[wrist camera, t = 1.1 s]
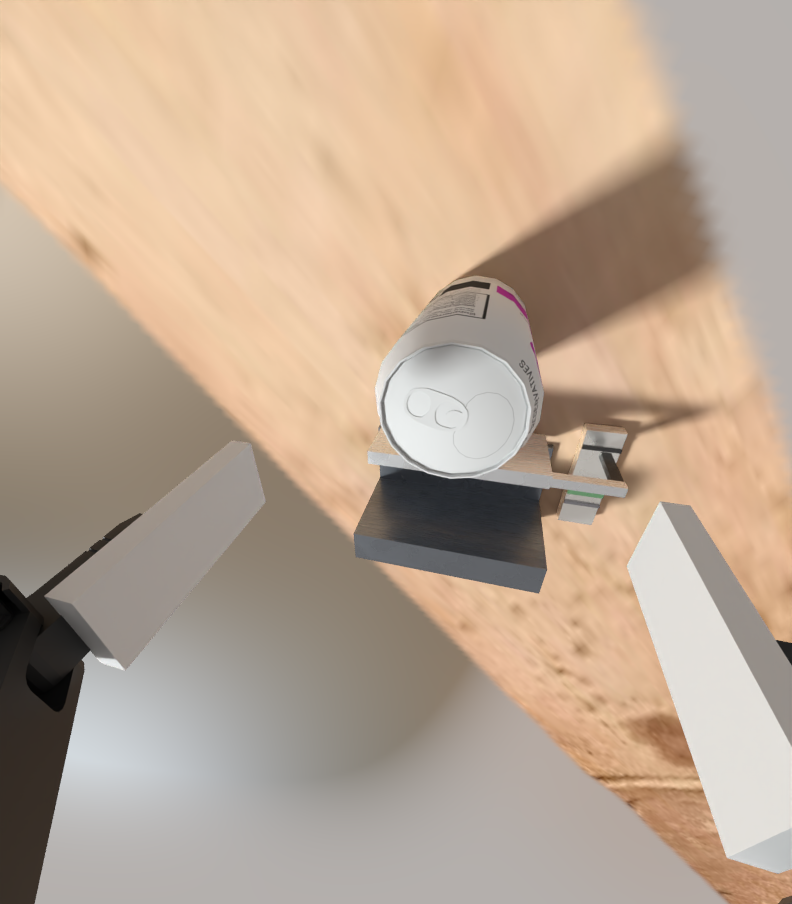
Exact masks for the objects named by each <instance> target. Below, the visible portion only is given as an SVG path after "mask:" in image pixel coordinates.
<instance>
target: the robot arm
mask: <svg viewBox="0 0 792 904" xmlns="http://www.w3.org/2000/svg"><path fill="white" fill-rule="evenodd" d="M264 503H265V497H264V493H263V489H262V485H261V482H260V478H259V474H258V470H257V466H256V462H255V459H254V454H253V451H252V447H251V443H245V442H238V441H231V442H230V443H228V444H227V445H226V446H225V447H223V448H222V449H221V450H220V451H219V452H217V453H216V454H215V455H214V456H213V457H211V458H210V459H209V460H208V461H207V462H205V463H204V464H203V465H202V466H201V467H199V468H198V469H197V470H196V471H194V472H193V473H192V474H191V475H190V476H188V477H187V478H186V479H185V480H184V481H182V482H181V483H180V484H179V485H178V486H176V487H175V488H174V489H173V490H172V491H170V492H169V493H168V494H167V495H166V496H164V497H163V498H162V499H161V500H160V501H158V502H157V503H156V504H155V505H153V506H152V507H151V508H150V509H149V510H147V511H146V512H145V513H144V514H138V515H136V516H134V517H132V518H130V519H128V520H126V521H124V522H122V523H120V524H119V525H118V526H116V527H115V528H114V529H113V530H111V531H110V532H109V533H108V534H106V535H105V536H104V537H103V539H102V540H99V541H98V542H97V543H95V544H94V545H93V546H92V547H90V548H89V551H88V552H87V551H85V552H84V553H83V554H82V555H80V556H79V557H78V558H77V559H75V560H74V561H73V562H72V563H71V564H69V565H68V566H67V567H65V568H64V569H63V570H62V571H60V572H59V573H58V574H57V575H55V576H54V577H53V578H52V579H50V580H49V581H48V582H47V583H45V584H44V585H43V586H42V587H40V588H39V589H38V590H37V591H36V592H34V593H33V594H31V595H30V596H29V597H27V598H25V596H24V595H23V594H22V593H21V592H20V591H19V590H18V589H17V588H16V587H15V585H14V584H13V583H12V582H11V581H10V580H9V579H8V578H7V577H6V576H3V575H0V904H34V903H35V899H36V894H37V889H38V885H39V880H40V875H41V870H42V866H43V861H44V856H45V852H46V847H47V843H48V838H49V833H50V829H51V824H52V819H53V814H54V810H55V805H56V800H57V796H58V791H59V787H60V782H61V777H62V773H63V768H64V763H65V759H66V754H67V749H68V745H69V740H70V735H71V731H72V726H73V721H74V716H75V712H76V707H77V703H78V698H79V693H80V689H81V684H82V679H83V675H84V662H83V661H82V659H83V657H84V656H85V655H86V654H87V653H88V652H89V651H91V652H92V653H93V654H94V655H95V657H96V658H97V659H98V660H99V661H100V662H101V663H103V664H106V665H109V666H112V667H115V668H119V669H122V670H126V669H127V668H128V667H129V666H130V664H131V663H132V662H133V661H134V660H135V658H136V657H137V656H138V655H139V654H140V652H141V651H142V650H143V649H144V648H145V646H146V645H147V644H148V643H149V641H150V640H151V639H152V638H153V637H154V636H155V634H156V633H157V632H158V631H159V630H160V628H161V627H162V626H163V625H164V623H165V622H166V621H167V620H168V619H169V617H170V616H171V615H172V614H173V613H174V611H175V610H176V609H177V608H178V607H179V605H180V604H181V603H182V602H183V601H184V599H185V598H186V597H187V596H188V595H189V593H190V592H191V591H192V590H193V589H194V587H195V586H196V585H197V584H198V583H199V581H200V580H201V579H202V578H203V577H204V575H205V574H206V573H207V572H208V571H209V569H210V568H211V567H212V566H213V564H214V563H215V562H216V561H217V560H218V559H219V557H220V556H221V555H222V554H223V552H224V551H225V550H226V549H227V548H228V546H229V545H230V544H231V543H232V542H233V541H234V539H235V538H236V537H237V536H238V535H239V533H240V532H241V531H242V530H243V529H244V527H245V526H246V525H247V524H248V523H249V521H250V520H251V519H252V518H253V517H254V515H255V514H256V513H257V512H258V511H259V509H260V508H261V507H262V506H263V505H264ZM627 568H628V571H629V574H630V577H631V580H632V583H633V586H634V589H635V591H636V594H637V597H638V600H639V603H640V606H641V609H642V612H643V615H644V618H645V621H646V623H647V626H648V629H649V632H650V635H651V638H652V641H653V644H654V647H655V650H656V653H657V655H658V658H659V661H660V664H661V667H662V670H663V673H664V676H665V679H666V682H667V685H668V687H669V690H670V693H671V696H672V699H673V702H674V705H675V708H676V711H677V714H678V717H679V719H680V722H681V725H682V728H683V731H684V734H685V737H686V740H687V743H688V746H689V749H690V751H691V754H692V757H693V760H694V763H695V766H696V769H697V772H698V775H699V778H700V781H701V783H702V786H703V789H704V792H705V795H706V798H707V801H708V804H709V807H710V810H711V813H712V815H713V818H714V821H715V824H716V827H717V830H718V833H719V836H720V839H721V842H722V845H723V847H724V850H725V853H726V856H727V858H729V859H732V860H735V861H739V862H742V863H745V864H748V865H752V866H755V867H758V868H761V869H764V870H768V871H771V872H774V873H777V874H779V873H781V872H784V871H787V870H790V869H792V643H788V642H783V641H778V640H775V638H774V637H773V635H772V634H771V632H770V631H769V629H768V627H767V626H766V624H765V623H764V621H763V619H762V618H761V616H760V615H759V613H758V612H757V610H756V608H755V607H754V605H753V604H752V602H751V601H750V599H749V597H748V596H747V594H746V593H745V591H744V589H743V588H742V586H741V585H740V583H739V582H738V580H737V578H736V577H735V575H734V574H733V572H732V571H731V569H730V567H729V566H728V564H727V563H726V561H725V559H724V558H723V556H722V555H721V553H720V552H719V550H718V548H717V547H716V545H715V544H714V542H713V540H712V539H711V537H710V536H709V534H708V533H707V531H706V529H705V528H704V526H703V525H702V523H701V522H700V520H699V518H698V517H697V515H696V514H695V512H694V510H693V509H692V507H691V506H689V505H682V504H674V503H667V502H659V504H658V506H657V508H656V510H655V512H654V514H653V516H652V518H651V520H650V522H649V524H648V526H647V528H646V530H645V532H644V533H643V535H642V537H641V539H640V541H639V543H638V545H637V547H636V549H635V551H634V553H633V555H632V557H631V559H630V561H629V563H628V565H627ZM778 904H792V896H790V897H786V898H783V899H782V900H781V901H780V902H779V903H778Z"/></svg>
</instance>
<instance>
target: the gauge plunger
mask: <svg viewBox="0 0 792 904" xmlns="http://www.w3.org/2000/svg"><path fill="white" fill-rule="evenodd" d="M599 459H600V462H601V464H602V467H603V470H604V472H605V475H606V477H607V480H606V479H599V478H591V477H584V476H577V475H569V474H562V473H554V472H552V468H551V462H550V457H549V451H548V445H547V440H546V435H542V434H533V433H532V435H531V436H530V438H529V440H528V441H527V443H526V444H525V445H524V446H523V447H521V448H520V449H519V450H518V451H517V453H516V455H514V456H513V457H512V458H511V459H509V460H508V461H507V462H506V463H504V464H503V465H502V466H501V467H499V468H498V469H497V470H494V471H491V472H488V473H485V474H483V475H480V476H477V477H474V479H481V480H488V481H495V482H502V483H509V484H516V485H523V486H530V487H537V488H544V489H549V488H550V487H552V488H559V489H566V490H573V491H580V492H587V493H594V494H601V495H608V496H616V497H623V498H625V496H626V493H627V491H628V487H627V484H626V482H624V481H623V479H622V476H621V474H620V472H619V469H618V467H617V465H616V463H615V460H614V458H613V456H612V453H608V452H600V454H599ZM368 463H369V464H376V465H383V466H390V467H397V468H404V469H411V470H418V471H422V470H420V469H418V468H416V467H415V466H413V465H411V464H409V463H407V462H406V461H405V460H404V459H403V458H402V457H401V456H400V455H399V454H398V453H397V452H396V451H395V450H394V449H393V448H392V447H391V445H390V443H389V441H388V439H387V437H386V435H385V433H384V431H383V429H382V427H381V429H380V430H379V432H378V434H377V436H376V437H375V439H374V441H373V443H372V444H371V446H370V448H369V449H368Z"/></svg>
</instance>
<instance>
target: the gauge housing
mask: <svg viewBox="0 0 792 904" xmlns="http://www.w3.org/2000/svg"><path fill="white" fill-rule="evenodd" d="M380 429H381V425H380V426H379V430H380ZM627 435H628V434H627V432H626V430H625V429H624V427H616V426H607V425H598V424H588V423H585V424H584V427H583V430H582V433H581V436H580V439H579V443H578V446H577V449H576V452H575V455H574V458H573V461H572V465H571V468H570V471H569V475H577V476H584V477H591V478H599V479H606V480H607V477H606V475H605V472H604V470H603V467H602V464H601V462H600V459H599V454H600V452H608V453H612V456H613V458H614V460H615V463H616V462H617V460H618V457H619V455H620V454H621V452H622V447H623V445H624V442H625V440H626V437H627ZM548 451H549V457H550V459H551V456H552V452H553V445H548ZM541 492H542V488H537V487H530V486H523V485H516V484H509V483H502V482H495V481H488V480H481V479H474V478H456V479H449V478H445V477H441V476H436V475H432V474H427V473H426V472H424V471H418V470H411V469H404V468H397V467H390V466H383V465H380V479H379V481H378V483H377V485H376V487H375V489H374V492H373V494H372V496H371V498H370V500H369V502H368V504H367V506H366V509H365V511H364V513H363V515H362V517H361V519H360V521H359V523H358V526H357V528H356V530H355V532H354V542H355V553H356V557H359V558H364V559H369V560H374V561H379V562H384V563H389V564H394V565H399V566H404V567H409V568H414V569H419V570H424V571H429V572H434V573H439V574H444V575H449V576H454V577H459V578H464V579H469V580H474V581H479V582H484V583H489V584H494V585H499V586H504V587H509V588H514V589H519V590H524V591H529V592H534V593H539V592H540V589H541V586H542V583H543V580H544V577H545V574H546V571H547V565H546V557H545V548H544V539H543V531H542V522H541V514H540V505H539V499H540V495H541ZM603 497H604V495H601V494H594V493H587V492H580V491H573V490H566V489H564V490H563V493H562V496H561V499H560V502H559V505H558V508H557V517H558V520H562V521H569V522H575V523H581V524H588V525H592V522H593V520H594V517H595V515H596V512H597V510H598V508H599V507H600V502H601V500H602V499H603Z"/></svg>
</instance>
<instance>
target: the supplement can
mask: <svg viewBox="0 0 792 904" xmlns="http://www.w3.org/2000/svg"><path fill="white" fill-rule="evenodd" d="M375 392H376V401H377V410H378V415H379V417H380V423H381V427H382V429H383V431H384V433H385V435H386V437H387V439H388V441H389V443H390V445H391V447H392V448H393V449H394V450H395V451H396V452H397V453H398V454H399V455H400V456H401V457H402V458H403V459H404V460H405V461H406V462H407V463H409V464H411V465H413V466H415V467H416V468H418V469H420V470H422V471H424V472H426V473H427V474H432V475H436V476H441V477H445V478H449V479H456V478H474V477H477V476H480V475H483V474H485V473H488V472H491V471H494V470H497V469H498V468H499V467H501V466H502V465H503V464H504V463H506V462H507V461H508V460H509V459H511V458H512V457H513V456H514V455H516V453H517V451H518V450H519V449H520V448H521V447H523V446H524V445H525V444H526V443H527V441H528V440H529V438H530V436H531V435H532V433H533V431H534V430H535V428H536V426H537V425H538V423H539V421H540V416H541V410H542V403H543V397H544V390H543V386H542V381H541V376H540V371H539V366H538V362H537V357H536V352H535V347H534V343H533V338H532V333H531V328H530V324H529V320H528V316H527V312H526V308H525V304H524V303H523V302H522V300H521V299H520V298H519V296H518V295H517V294H516V292H515V291H514V290H513V288H511V287H509V286H508V285H506V284H504V283H503V282H501V281H499V280H497V279H496V278H490V277H483V276H476V275H475V276H471V277H467V278H463V279H458V280H455V281H454V282H452V283H451V284H449V285H448V286H446V287H445V288H443V289H442V290H440V291H439V292H438V293H437V294H436V295H435V297H434V298H433V299H432V300H431V301H430V303H429V304H428V305H427V306H426V307H425V309H424V310H423V311H422V312H421V313H420V315H419V316H418V317H417V318H416V319H415V321H414V322H413V323H412V324H411V325H410V327H409V328H408V329H407V330H406V331H405V333H404V334H403V335H402V336H401V337H400V339H399V340H398V341H397V343H396V344H395V345H394V347H393V348H392V349H391V351H390V352H389V353H388V355H387V356H386V358H385V359H384V360H383V362H382V364H381V367H380V371H379V375H378V379H377V383H376V386H375Z"/></svg>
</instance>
